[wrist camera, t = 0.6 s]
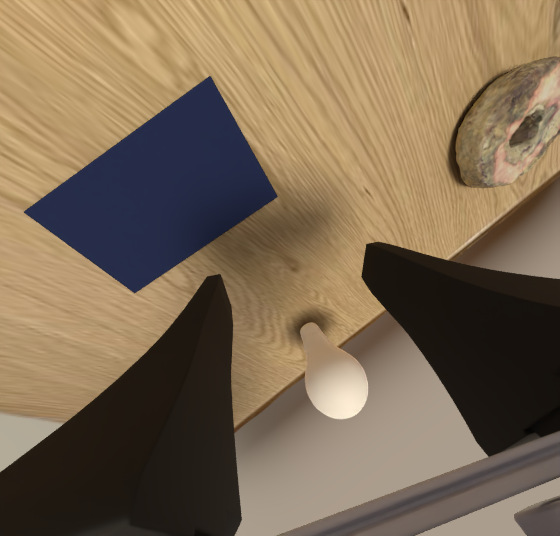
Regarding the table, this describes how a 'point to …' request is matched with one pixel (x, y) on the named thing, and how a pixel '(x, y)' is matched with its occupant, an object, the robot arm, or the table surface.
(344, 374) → the lightbulb
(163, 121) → the cloth
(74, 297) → the table surface
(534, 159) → the stone ring
